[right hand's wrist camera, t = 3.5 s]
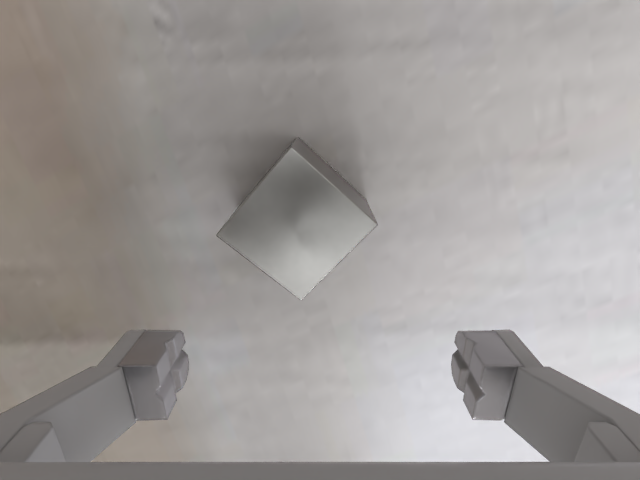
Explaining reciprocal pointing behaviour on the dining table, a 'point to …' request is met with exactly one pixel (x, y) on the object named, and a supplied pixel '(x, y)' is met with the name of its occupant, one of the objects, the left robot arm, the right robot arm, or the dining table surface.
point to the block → (299, 221)
